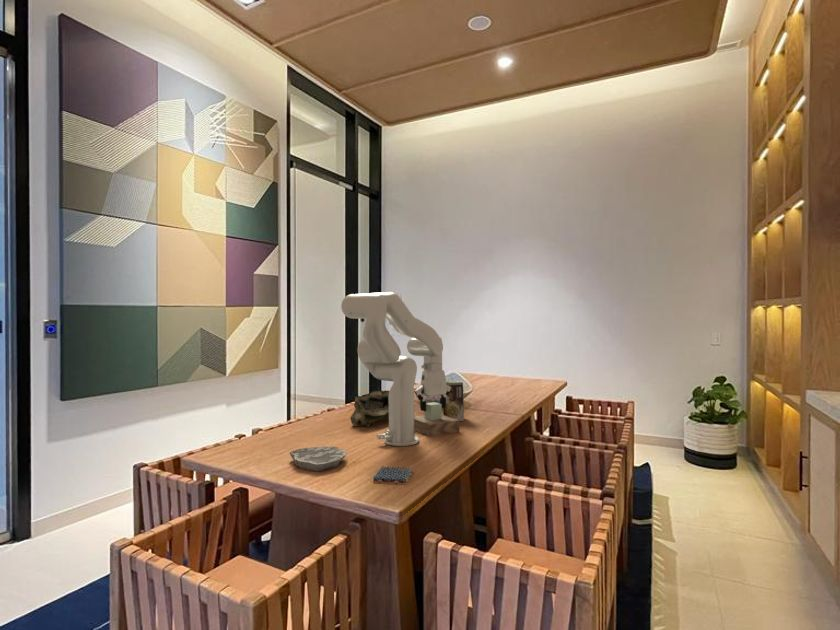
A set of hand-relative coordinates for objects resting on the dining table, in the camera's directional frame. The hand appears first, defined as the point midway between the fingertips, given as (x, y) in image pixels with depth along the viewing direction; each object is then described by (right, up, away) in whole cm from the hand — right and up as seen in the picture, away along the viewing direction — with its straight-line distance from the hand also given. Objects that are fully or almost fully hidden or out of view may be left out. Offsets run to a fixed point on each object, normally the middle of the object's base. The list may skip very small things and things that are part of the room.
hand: (433, 409), depth 196 cm
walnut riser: (0, -9, 0) cm, 9 cm away
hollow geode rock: (-24, -9, +16) cm, 30 cm away
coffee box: (+9, -8, +18) cm, 22 cm away
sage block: (0, -4, 0) cm, 4 cm away
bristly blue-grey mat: (-13, -10, -56) cm, 58 cm away
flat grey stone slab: (-38, -10, -41) cm, 56 cm away
